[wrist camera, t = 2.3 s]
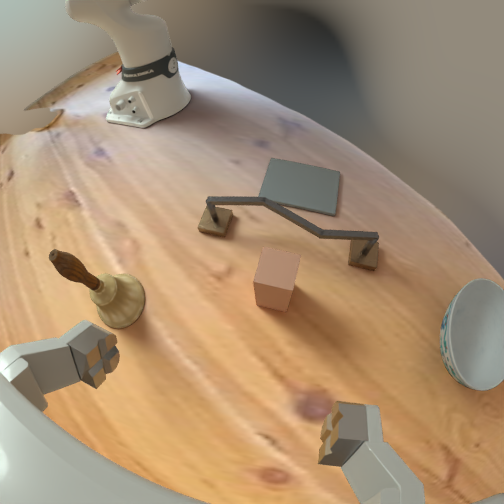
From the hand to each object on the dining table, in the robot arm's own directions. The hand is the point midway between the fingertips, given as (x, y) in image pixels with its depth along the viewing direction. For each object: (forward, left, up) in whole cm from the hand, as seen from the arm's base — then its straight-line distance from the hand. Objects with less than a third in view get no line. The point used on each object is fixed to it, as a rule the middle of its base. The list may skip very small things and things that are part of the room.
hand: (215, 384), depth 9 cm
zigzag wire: (0, +20, -25) cm, 32 cm away
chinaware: (+29, +9, -25) cm, 40 cm away
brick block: (0, +11, -25) cm, 28 cm away
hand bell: (-21, +4, -25) cm, 33 cm away
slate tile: (0, +30, -25) cm, 39 cm away
